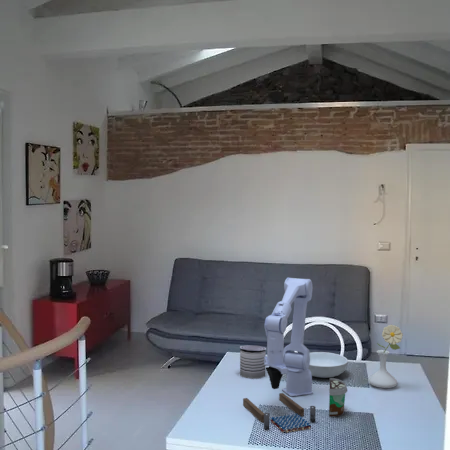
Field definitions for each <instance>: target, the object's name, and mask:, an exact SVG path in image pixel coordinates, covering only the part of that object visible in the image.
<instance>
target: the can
mask: <svg viewBox="0 0 450 450" xmlns="http://www.w3.org/2000/svg"><path fill="white" fill-rule="evenodd" d="M239 348H240V349H239V352H240V354H239V356H240V357H239V360H240V361H239V376H240V377H242V378H245V379H251V380H257V379H263V378H265V377H266V366H265V365H264V363H265V362H264V357H267V346H266V347H265V346H262V345H261V346H260V345H252V344H251V345H249V344H248V345H240V346H239Z"/></svg>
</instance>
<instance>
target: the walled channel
mask: <svg viewBox="0 0 450 450" xmlns="http://www.w3.org/2000/svg"><path fill="white" fill-rule="evenodd" d="M278 401H280V402H281V403H282V404H284V405H285V407H287V408H289V409H290V410H291V411H292V412H294V414H298V415H300V417H304V416H305V408H304V407H302V406H301V405H300V404H298V403H297V402H296V401H295V400H293V399H291V398H290V397H289V396H288V395H286V394H285V392H281V393H279V394H278ZM242 406H243V407H244V408H246V410H247V411H249V413H250V414H252V415H253V416H254V417H255V418H256V419H257V420H258V421H259V422H260V423H263V424H264V413H265V412H263V411H262V410H261V409H260V408H259V407H258V406H257V405H256V404H255V403H253V402H252V401H251V400H250V399H249V398H248V397H245V398H242Z"/></svg>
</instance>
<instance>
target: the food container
mask: <svg viewBox="0 0 450 450" xmlns="http://www.w3.org/2000/svg"><path fill="white" fill-rule="evenodd" d="M328 390H329V394H328V395H329V399H328V401H329V403H328V409H329V410H328V417H330V418H331V417H340V416H342V415H343V414H344V412H345V401H346V399H345V398H346V393H347V392H348V387H347V384H346V382H345V381H343V380H341V379H339V378H334V377H329V389H328Z"/></svg>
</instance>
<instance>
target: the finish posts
mask: <svg viewBox="0 0 450 450" xmlns="http://www.w3.org/2000/svg"><path fill="white" fill-rule="evenodd" d="M263 413H264V422H263V430H264V429H265V430H264V431H270V423H271V421H270V420H271V418H270V413H269V412H263ZM315 422H316V405H310V406H309V423H315Z"/></svg>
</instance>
